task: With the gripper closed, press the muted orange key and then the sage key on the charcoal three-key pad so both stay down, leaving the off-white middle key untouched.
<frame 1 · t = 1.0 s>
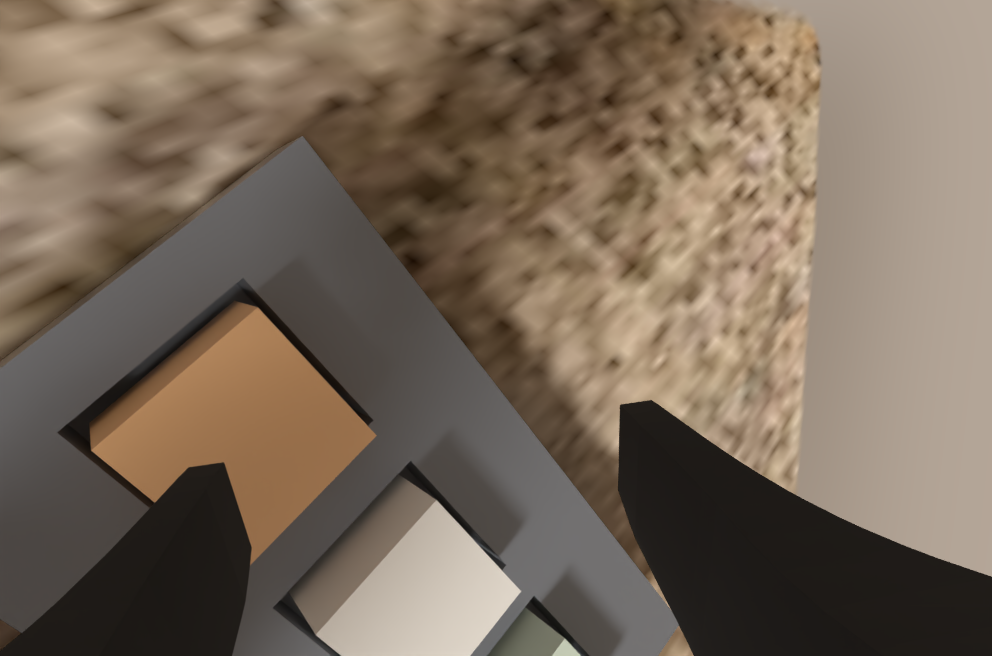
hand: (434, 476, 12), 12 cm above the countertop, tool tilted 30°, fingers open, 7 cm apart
keypad: (368, 551, 25), on the countertop
white key: (407, 590, 22), point 3 cm above the countertop, slide at 0.0 cm
orange key: (237, 429, 19), point 4 cm above the countertop, slide at 0.0 cm
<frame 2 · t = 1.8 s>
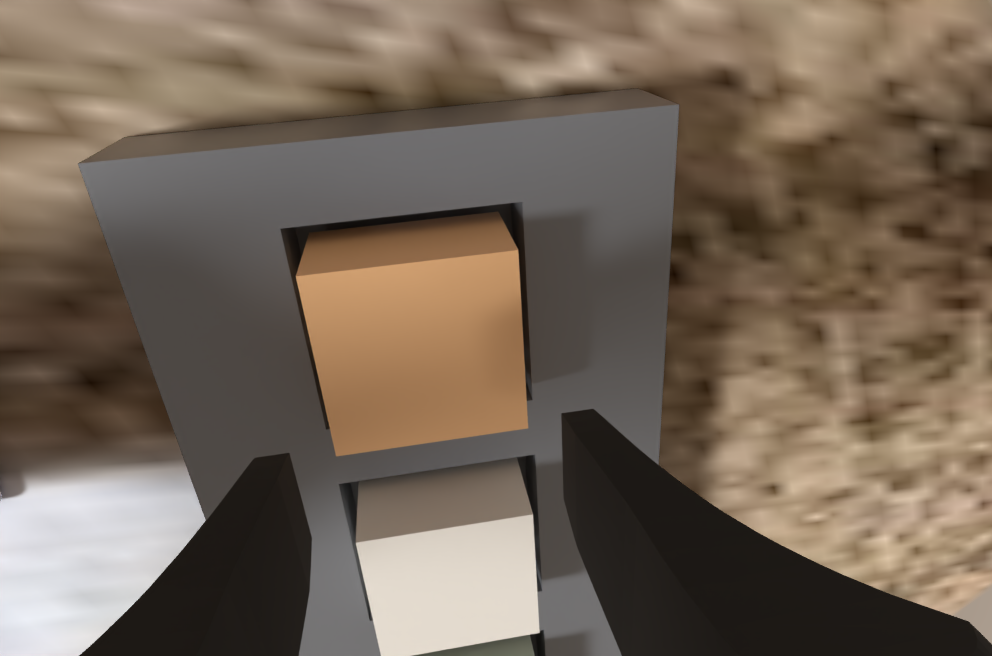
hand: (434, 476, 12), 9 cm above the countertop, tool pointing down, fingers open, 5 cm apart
keypad: (441, 481, 24), on the countertop
white key: (449, 553, 21), point 4 cm above the countertop, slide at 0.0 cm
orange key: (419, 331, 17), point 3 cm above the countertop, slide at 0.0 cm
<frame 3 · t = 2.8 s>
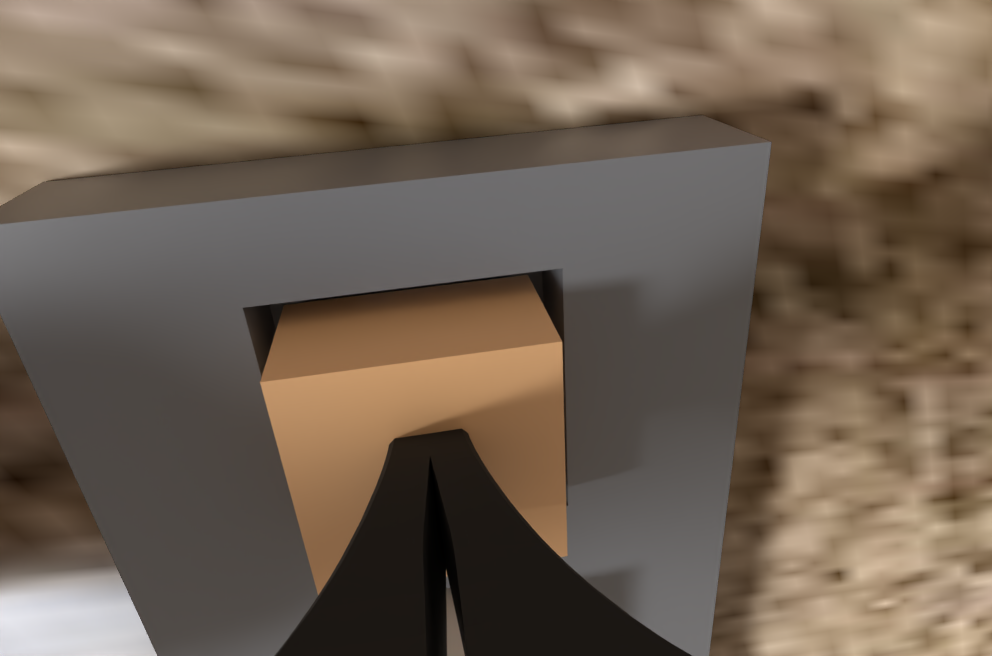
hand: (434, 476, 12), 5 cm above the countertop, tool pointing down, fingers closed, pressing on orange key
keypad: (450, 579, 20), on the countertop
orange key: (426, 431, 13), point 3 cm above the countertop, slide at 0.1 cm, touching gripper
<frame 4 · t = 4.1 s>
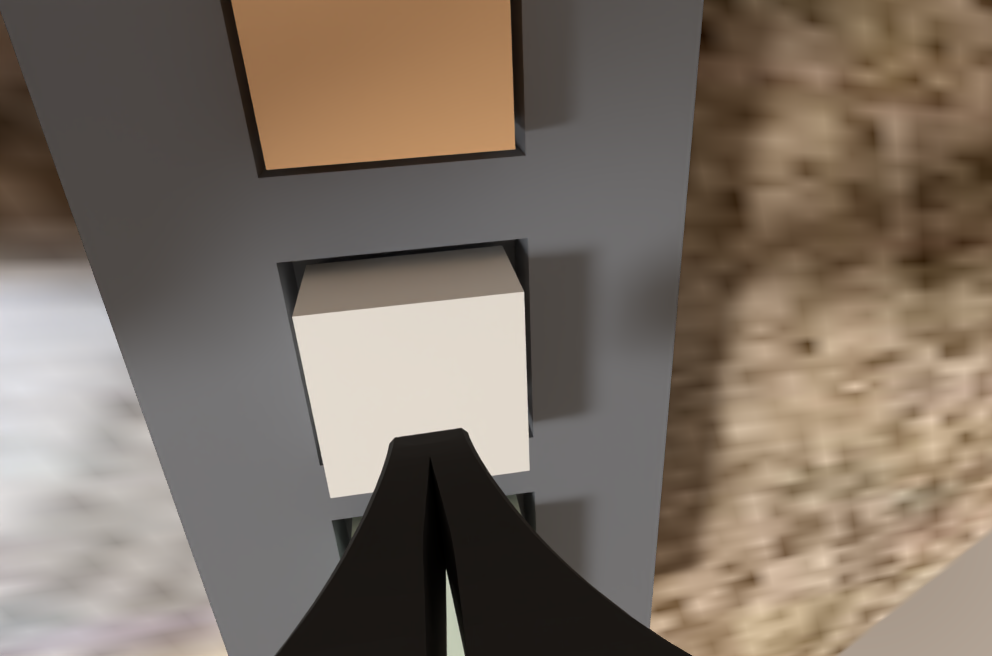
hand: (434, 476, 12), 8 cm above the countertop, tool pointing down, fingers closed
keypad: (412, 309, 20), on the countertop
white key: (418, 368, 17), point 4 cm above the countertop, slide at 0.0 cm
sage key: (445, 590, 21), point 3 cm above the countertop, slide at 0.0 cm
orange key: (377, 20, 14), point 3 cm above the countertop, slide at 0.5 cm
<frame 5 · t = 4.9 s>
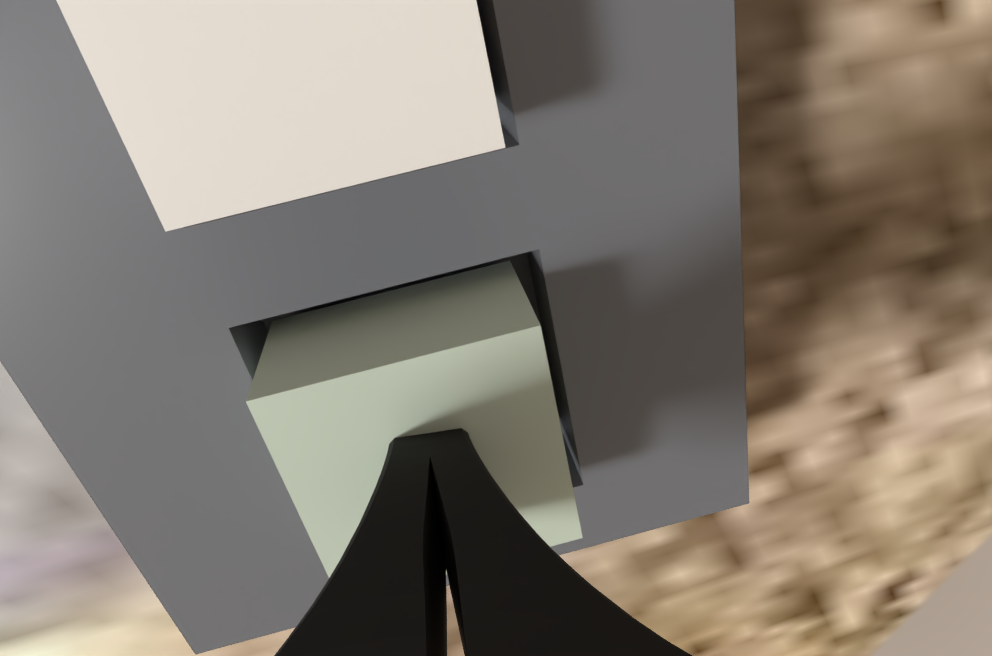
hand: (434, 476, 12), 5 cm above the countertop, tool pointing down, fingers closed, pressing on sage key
sage key: (427, 429, 13), point 3 cm above the countertop, slide at 0.0 cm, touching gripper
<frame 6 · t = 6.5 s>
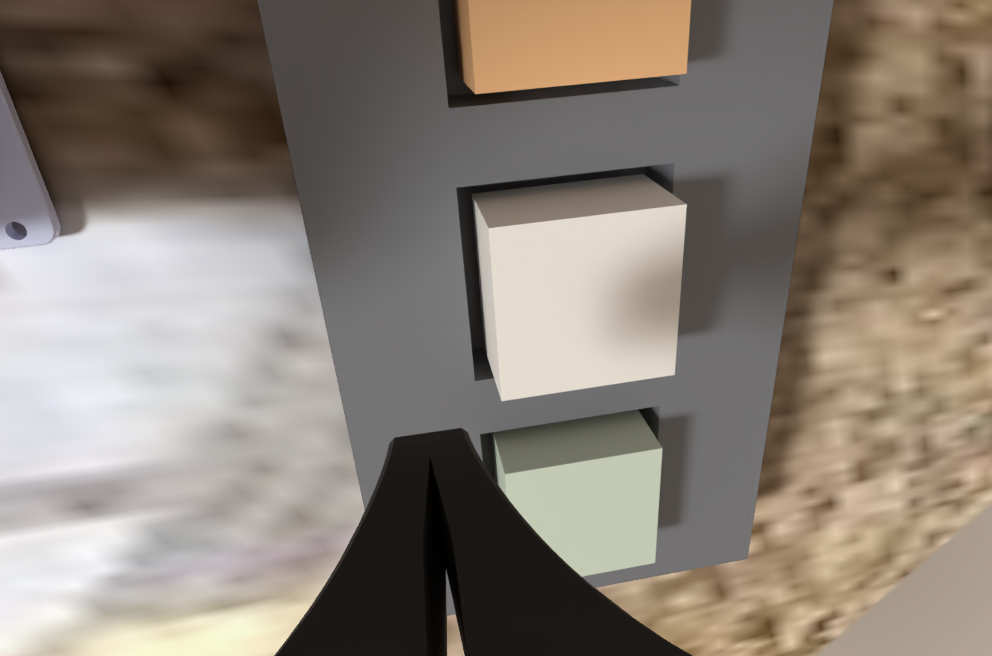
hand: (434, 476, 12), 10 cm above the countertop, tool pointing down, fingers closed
keypad: (545, 242, 22), on the countertop
white key: (573, 285, 19), point 3 cm above the countertop, slide at 0.0 cm
sage key: (572, 490, 23), point 3 cm above the countertop, slide at 0.5 cm
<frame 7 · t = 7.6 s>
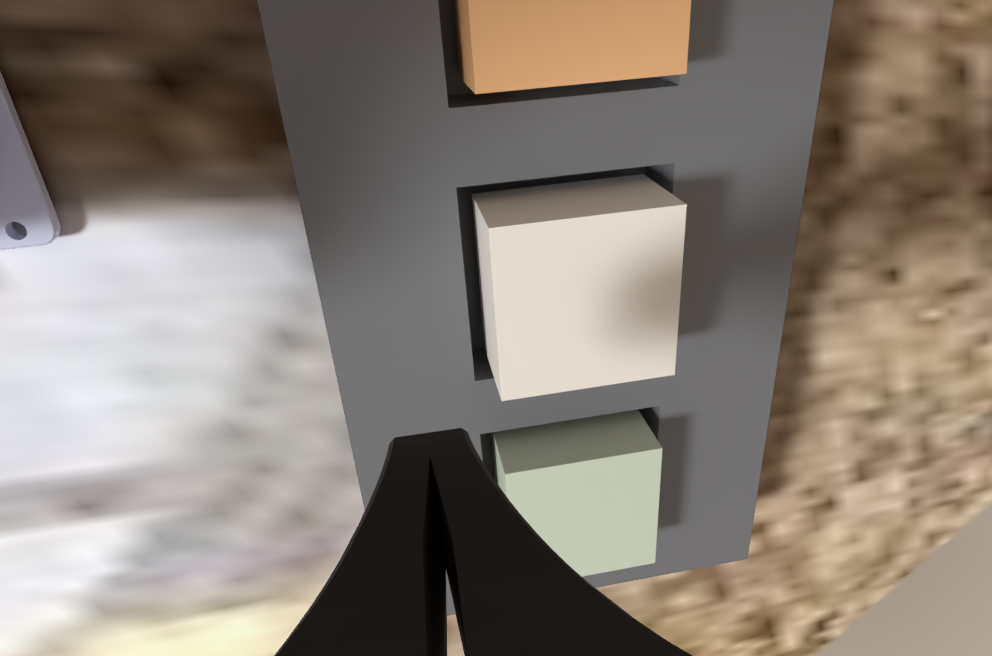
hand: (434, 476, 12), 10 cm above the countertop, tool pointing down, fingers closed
keypad: (545, 242, 22), on the countertop
white key: (573, 285, 19), point 3 cm above the countertop, slide at 0.0 cm
sage key: (572, 490, 23), point 3 cm above the countertop, slide at 0.5 cm
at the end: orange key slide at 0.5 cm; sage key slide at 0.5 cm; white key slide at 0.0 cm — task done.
